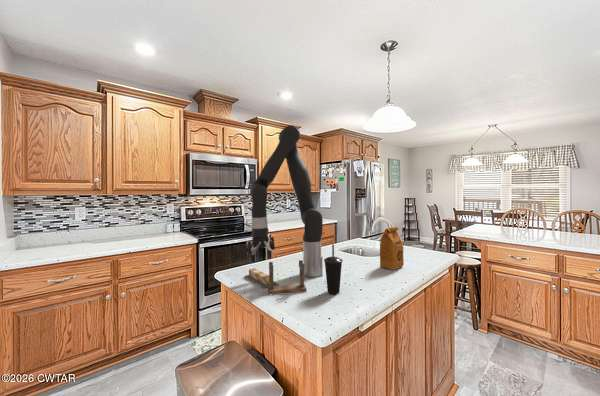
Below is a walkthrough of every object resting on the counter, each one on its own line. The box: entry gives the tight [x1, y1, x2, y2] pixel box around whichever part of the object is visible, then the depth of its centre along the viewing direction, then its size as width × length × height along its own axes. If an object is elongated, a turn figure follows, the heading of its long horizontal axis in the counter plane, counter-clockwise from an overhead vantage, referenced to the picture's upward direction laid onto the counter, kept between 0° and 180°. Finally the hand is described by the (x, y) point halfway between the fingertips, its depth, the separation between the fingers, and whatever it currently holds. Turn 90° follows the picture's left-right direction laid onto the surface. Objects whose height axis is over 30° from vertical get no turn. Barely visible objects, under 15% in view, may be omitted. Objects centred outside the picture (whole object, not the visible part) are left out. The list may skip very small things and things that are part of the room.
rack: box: [267, 259, 307, 296], centre depth 107 cm, size 16×6×12 cm, turn 99°
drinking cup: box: [323, 244, 344, 296], centre depth 105 cm, size 8×8×20 cm
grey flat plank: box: [244, 274, 280, 289], centre depth 120 cm, size 20×7×1 cm, turn 39°
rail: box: [248, 268, 275, 285], centre depth 120 cm, size 18×3×3 cm, turn 39°
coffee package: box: [379, 226, 404, 270], centre depth 138 cm, size 10×12×22 cm
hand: (261, 260), depth 120 cm, fingers open, 8 cm apart
